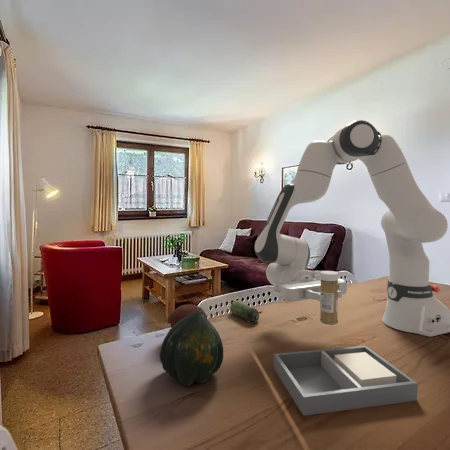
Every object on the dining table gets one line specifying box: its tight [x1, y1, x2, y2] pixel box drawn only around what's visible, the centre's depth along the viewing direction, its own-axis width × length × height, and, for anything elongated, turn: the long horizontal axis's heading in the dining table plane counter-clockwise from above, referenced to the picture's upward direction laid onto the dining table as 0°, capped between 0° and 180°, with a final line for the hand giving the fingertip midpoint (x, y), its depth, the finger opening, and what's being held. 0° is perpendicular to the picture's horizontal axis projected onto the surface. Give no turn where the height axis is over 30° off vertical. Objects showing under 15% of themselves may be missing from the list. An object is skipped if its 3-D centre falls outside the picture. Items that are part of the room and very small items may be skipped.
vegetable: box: [230, 299, 260, 323], centre depth 104 cm, size 14×5×5 cm, turn 34°
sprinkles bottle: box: [319, 270, 339, 326], centre depth 78 cm, size 5×5×14 cm
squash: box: [159, 311, 224, 387], centre depth 69 cm, size 14×15×15 cm
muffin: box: [167, 304, 208, 329], centre depth 87 cm, size 12×11×10 cm
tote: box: [273, 345, 419, 417], centre depth 64 cm, size 24×16×4 cm, turn 100°
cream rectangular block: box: [334, 352, 396, 387], centre depth 65 cm, size 8×10×4 cm
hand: (331, 296), depth 77 cm, fingers closed on sprinkles bottle, 4 cm apart
